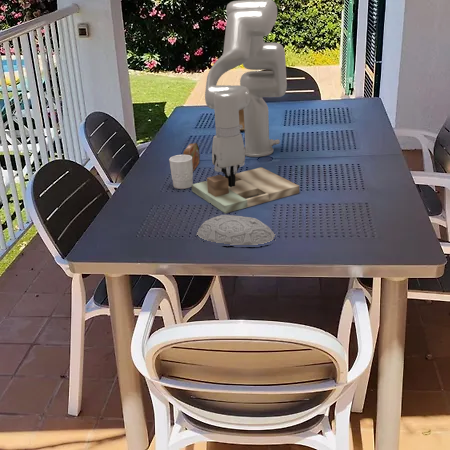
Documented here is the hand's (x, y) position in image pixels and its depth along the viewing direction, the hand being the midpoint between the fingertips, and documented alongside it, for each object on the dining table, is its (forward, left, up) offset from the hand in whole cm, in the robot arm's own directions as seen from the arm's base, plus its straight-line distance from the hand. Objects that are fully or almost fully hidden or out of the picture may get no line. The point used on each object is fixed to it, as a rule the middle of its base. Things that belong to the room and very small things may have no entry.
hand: (230, 185), depth 197 cm
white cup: (+9, -19, -4) cm, 21 cm away
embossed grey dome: (+14, +26, -4) cm, 30 cm away
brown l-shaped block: (-43, -67, -4) cm, 80 cm away
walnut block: (+5, 0, -1) cm, 5 cm away
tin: (-2, -34, -4) cm, 34 cm away
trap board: (-5, 0, -4) cm, 7 cm away
